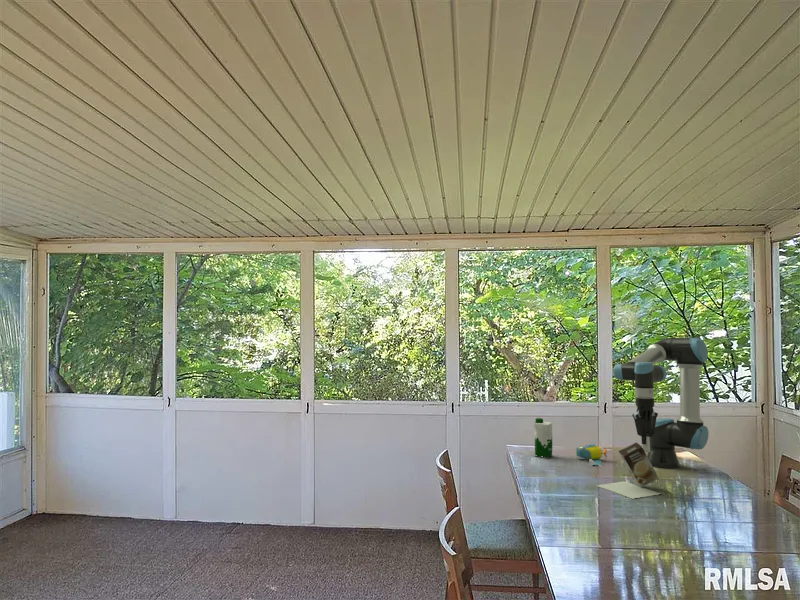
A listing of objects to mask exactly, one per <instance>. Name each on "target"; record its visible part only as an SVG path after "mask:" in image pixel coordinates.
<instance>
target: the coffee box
mask: <svg viewBox="0 0 800 600" xmlns="http://www.w3.org/2000/svg"><path fill="white" fill-rule="evenodd" d="M618 453H619V455H620V457H621V460H623V463H624V464H625V467H626V468H627V470H628V473H630V476H631V477H632V479H633V481H634V483H635V485H637V486H639V487H643V488H644V487H645V486H647V485H648V484H650V483H652V482H654V481H657V480H659V478H660V477H659V475H658V474H657V472H656V470H655V467H654V466H652V464H651V463H650V461H649V459H648V457H647V455H648V454H646V453H647V452H645V451H644V450H643V446H642V444H641V445H640V444H639V443H638V442H634V443H632V444H630V445H628V446H626V447H624V448H622V449H620V450H619V451H618Z"/></svg>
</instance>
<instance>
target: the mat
mask: <svg viewBox="0 0 800 600" xmlns="http://www.w3.org/2000/svg"><path fill="white" fill-rule="evenodd" d="M596 487H598V488H600V489H602V490H606V491H608V492H611V493H614V494H616V495H619V494H620V495H619V496H622V495H623V497H625V496H626V497H625V498H627V497H629V498H628V499H630V498H632V499H631V500H636V499H635V498H638V499H641V498H640V497H644V498H647V497H646V496H650V497H653V496H652V495H656V496H660V495H659V494H661V495H662V493H660V492H658V491H654V490H651V489H649V488H646V487H644V486H643V487H639V486H638V485H637V484H634V483H630V482H627V481H625V480H623V481H618V482H616V481H615V482H610V483H603V484H597V485H596Z"/></svg>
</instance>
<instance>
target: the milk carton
mask: <svg viewBox="0 0 800 600" xmlns="http://www.w3.org/2000/svg"><path fill="white" fill-rule="evenodd" d="M533 427H534V456H535V455H537V456H543V457H542V458H544V457H549V456H550V457H552V456H553V422H551V421H549V422H548V421H544V419H543V418H541V417H536V418H535V422H534V423H533ZM551 455H552V456H551ZM550 457H549V458H550Z"/></svg>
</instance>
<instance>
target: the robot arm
mask: <svg viewBox="0 0 800 600" xmlns="http://www.w3.org/2000/svg"><path fill="white" fill-rule="evenodd" d="M708 352H709V351H708V347H707V345H706V343H705V341H704V340H703V339H701V338H697V337H668V338H664V339H661V340H657V341H656V342H654V343H652V344H650V345H649V346H648V347H647V348H646V350H645V351H643V352H642V353H639V355H637V356H635V357H634V358H632V359H631V360H629V361H627V362H626V363H617V364H615V365H614V367H613V376H614V378H615V379H616V380H619V381H620V380H621V381H627V382H628V381H631V382H632V381H634V388H635V389H634V393H635V395H634V396H635V406H636V412H634V413H632V417H633V421H634V424H635V429H636V434H637V436H639V437H641V446H642V448H643V450H644V451H645V453H647V454H646V455H647V457H648V459H649V461H650V463H651V464H652V466H653V468H662V469H677V468H680V461H679V459H678V456H677V453H676V447H679V448H686V449H691V450H703V449H704V448H705V447H706V445H707V443H708V440H709V435H710V434H709V428H708V427H707V426H706V425H704V421H703V420H702V418H701V414H700V413H701V410H700V409H701V407H700V406H701V400H700V399H701V396H700V395H701V394H700V393H701V392H700V391H701V387H700V386H701V385H700V384H701V383H700V382H701V381H700V378H701V377H700V371H701V368H702V367H703V366H704V363H705V362H707V360H708V357H709V353H708ZM664 361H674V362H676V365H677V367H679V414H680V415H679V417H678V418H676V422H675V420H674V418H670V417H669V418H657V417H658V415H659V413H658V412H655V411H654V410H655V409H654V407H655V394H654V393H655V389H654V388H655V387H654V384H655V383H661V382H663V381H665V380H666V379H667V375H668V372H667V370H666V368H665V367H664V366H662V365H658V364H657V363H662V362H664Z"/></svg>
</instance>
